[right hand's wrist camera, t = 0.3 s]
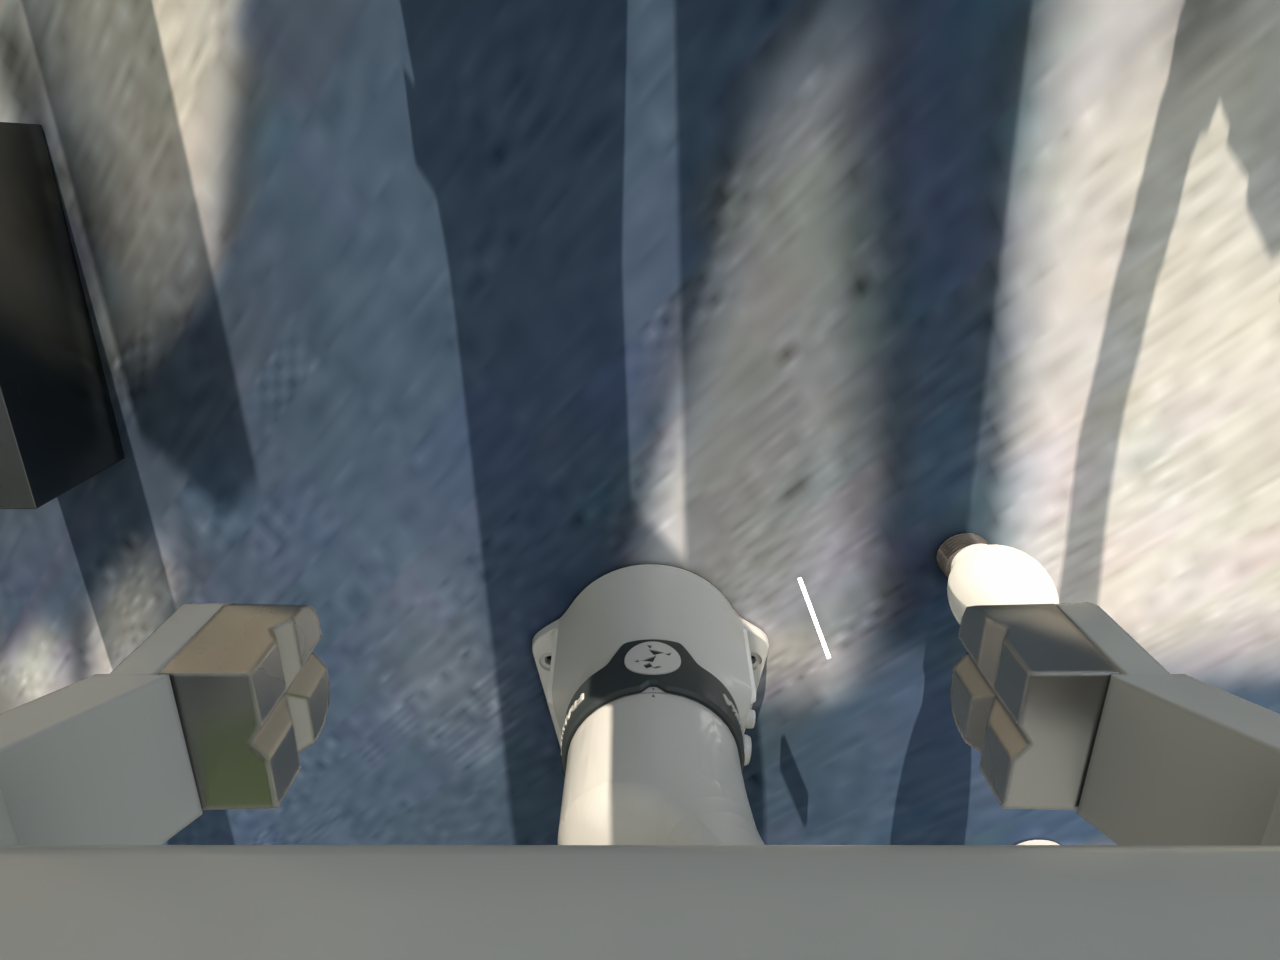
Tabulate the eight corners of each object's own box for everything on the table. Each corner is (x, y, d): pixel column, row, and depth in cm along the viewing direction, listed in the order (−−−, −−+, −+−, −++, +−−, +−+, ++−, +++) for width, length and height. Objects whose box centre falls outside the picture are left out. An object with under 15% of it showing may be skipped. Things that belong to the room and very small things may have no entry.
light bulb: (912, 588, 63) (965, 670, 53) (931, 509, 61) (990, 579, 51) (997, 595, 64) (1066, 678, 53) (1019, 516, 61) (1096, 588, 51)
